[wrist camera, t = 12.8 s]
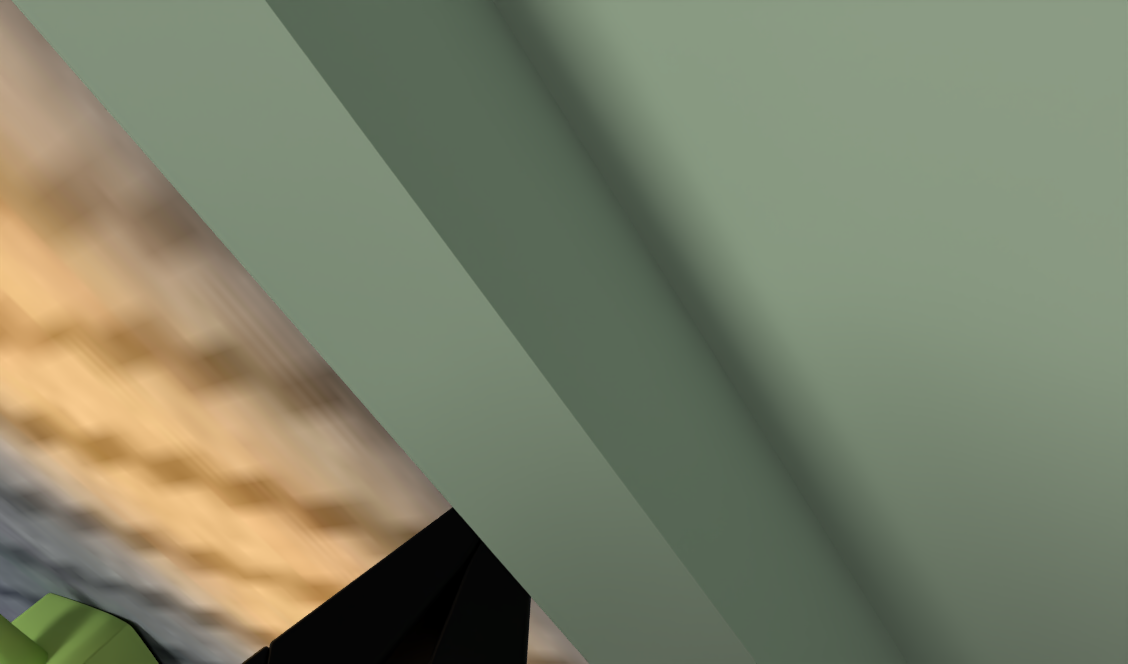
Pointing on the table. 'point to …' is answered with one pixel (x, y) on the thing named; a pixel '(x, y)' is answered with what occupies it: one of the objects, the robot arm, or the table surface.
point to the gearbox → (69, 636)
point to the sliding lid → (697, 293)
